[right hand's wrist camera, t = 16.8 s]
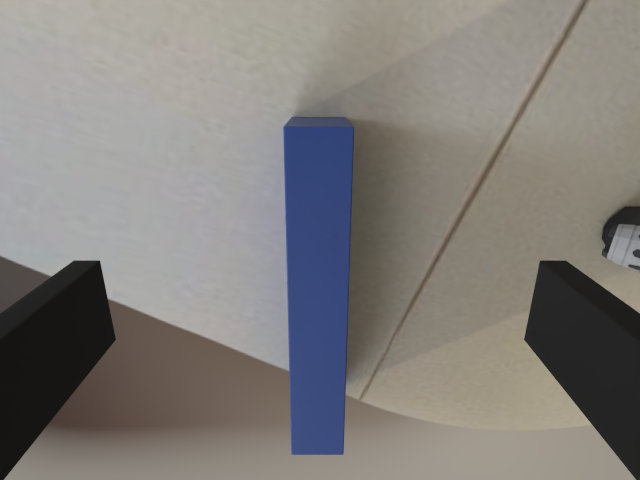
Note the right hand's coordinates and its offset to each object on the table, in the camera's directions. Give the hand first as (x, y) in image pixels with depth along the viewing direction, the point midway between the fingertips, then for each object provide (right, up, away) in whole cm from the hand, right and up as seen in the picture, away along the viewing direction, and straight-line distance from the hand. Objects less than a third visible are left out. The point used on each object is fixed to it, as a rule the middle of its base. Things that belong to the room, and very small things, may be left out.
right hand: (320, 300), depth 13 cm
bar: (0, -1, +26) cm, 26 cm away
